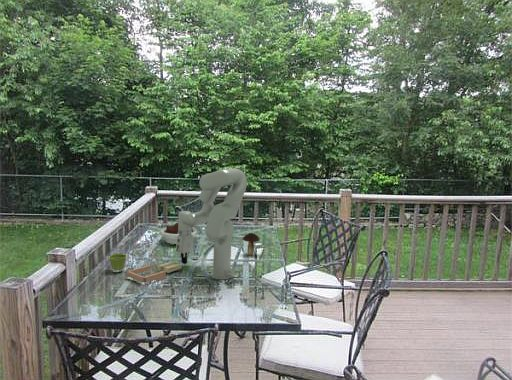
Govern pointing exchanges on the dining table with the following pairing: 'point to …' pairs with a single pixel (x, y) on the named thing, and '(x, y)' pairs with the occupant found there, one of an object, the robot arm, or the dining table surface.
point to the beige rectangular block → (170, 267)
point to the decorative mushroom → (251, 242)
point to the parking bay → (152, 277)
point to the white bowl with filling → (173, 233)
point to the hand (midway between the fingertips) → (184, 263)
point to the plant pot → (117, 261)
